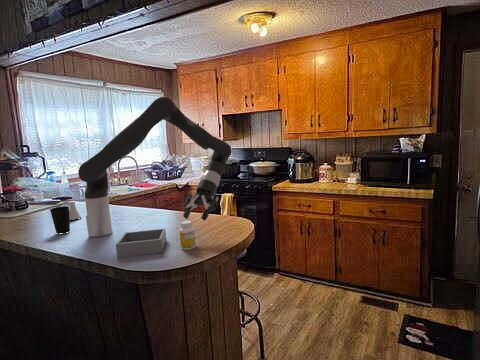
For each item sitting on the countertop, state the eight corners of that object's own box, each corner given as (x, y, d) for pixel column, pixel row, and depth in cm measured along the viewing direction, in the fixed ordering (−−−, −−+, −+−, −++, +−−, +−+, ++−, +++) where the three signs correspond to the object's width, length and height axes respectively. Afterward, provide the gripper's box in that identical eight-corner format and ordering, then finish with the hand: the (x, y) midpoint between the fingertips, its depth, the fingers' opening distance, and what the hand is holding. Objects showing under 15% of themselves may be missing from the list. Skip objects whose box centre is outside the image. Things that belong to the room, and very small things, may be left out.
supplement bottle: (181, 245, 114) (178, 221, 112) (195, 243, 115) (193, 219, 113) (181, 250, 108) (179, 224, 107) (196, 248, 110) (194, 223, 108)
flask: (70, 218, 170) (68, 201, 169) (83, 217, 171) (81, 200, 170) (64, 222, 163) (61, 204, 162) (78, 220, 164) (75, 203, 162)
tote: (117, 257, 106) (115, 244, 105) (126, 244, 119) (124, 232, 118) (162, 252, 108) (161, 239, 107) (166, 240, 121) (165, 228, 120)
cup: (76, 230, 144) (72, 206, 143) (62, 235, 137) (58, 210, 136) (64, 229, 147) (60, 206, 145) (50, 234, 140) (46, 209, 138)
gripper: (190, 178, 123) (174, 212, 115) (219, 178, 116) (204, 214, 108) (199, 188, 129) (184, 222, 120) (227, 189, 122) (213, 224, 113)
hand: (194, 218), depth 114 cm, fingers open, 8 cm apart
